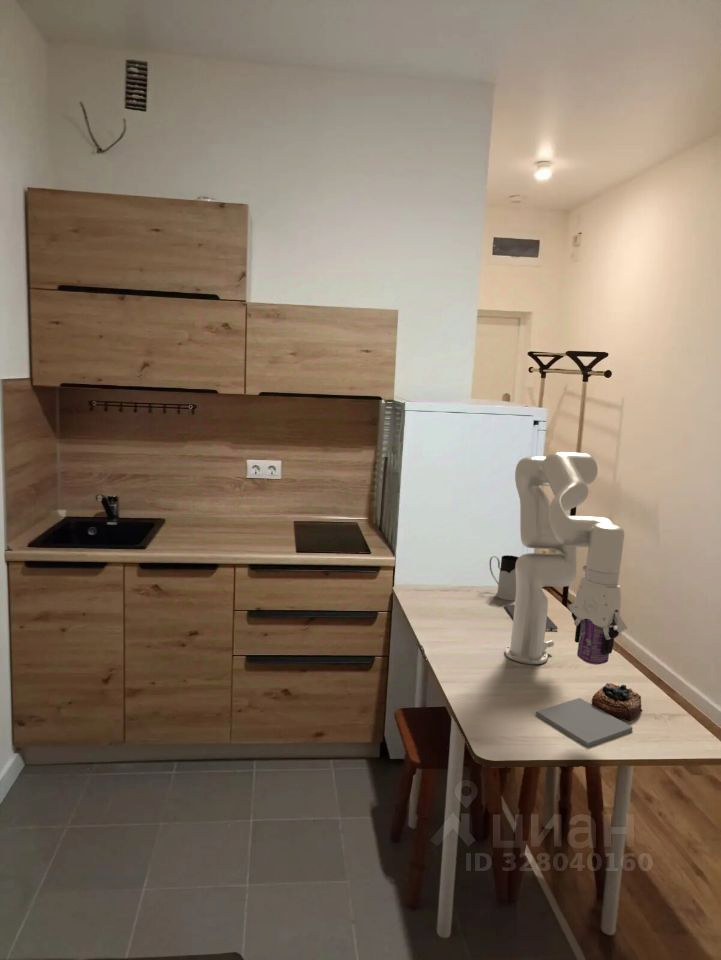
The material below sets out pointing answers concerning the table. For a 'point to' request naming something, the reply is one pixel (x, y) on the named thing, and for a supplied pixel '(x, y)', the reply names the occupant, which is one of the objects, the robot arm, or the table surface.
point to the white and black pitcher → (506, 577)
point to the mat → (584, 722)
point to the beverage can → (591, 643)
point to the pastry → (618, 701)
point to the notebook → (549, 624)
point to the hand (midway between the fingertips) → (592, 646)
